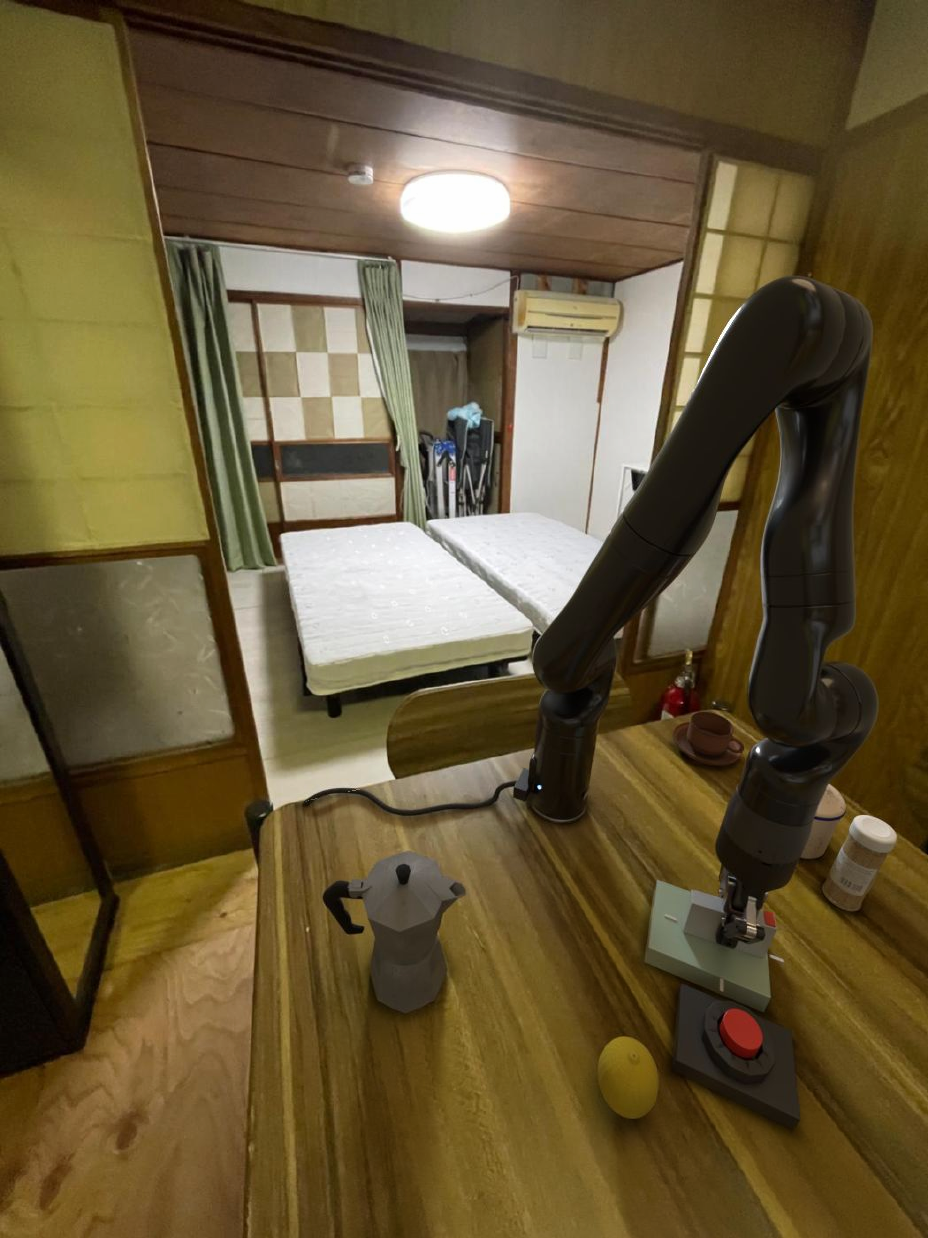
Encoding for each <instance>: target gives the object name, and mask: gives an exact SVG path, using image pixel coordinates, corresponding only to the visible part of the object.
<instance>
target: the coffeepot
mask: <svg viewBox="0 0 928 1238" xmlns="http://www.w3.org/2000/svg"><path fill="white" fill-rule="evenodd" d="M466 895H467V890H466V887H465V886H464V884H463V883H462V882H460V881H457V879H453V878H451V877H448V876H446V875H443V872H442V870H441V868H440V866H439V863H438V861H437V860H436V859H435V860H434V859H432V858H430V857H427V856H424V855H421V854H419V853H416V852H413V851H411V850H405V851H404V852H399V853H396V854H394V855H391V856H387V857H384V858H382V859H378V860H377V861H376V862H375V864H374V865H373V867H372V869H371V870H370V871H369V873H368V875H367V876H366V878H351V880H350V881H347V880H341V879H339V880H336V881H334V882H333V883H332V884H330V886H328V887H327V888H326V889H325V890H324V891H323V893H322V901H323V903H324V905H325V907H326V908H327V909H328V910H329V912H330V913H331V915H332V916H333V917H334V919H335V920H336V922H337V923H338V925H339V926H340V928H341V929H342V930H343V931H344V933H345V934H346V935H349V936H350V935H360V934H363V933H364V931H365V926H364V925H359V924H355V923H353V921H352V916H351V914H350V913H349V911H348V910H346V907H345V905H344V902H343V900H342V899H349V900H350V899H351V900H362V902H363V905H364V906H363V907H364V909H365V914H366V917H367V920H368V922H369V925H370V928H371V931H372V933H373V936H374V942H373V947H372V953H371V959H370V965H369V972H370V976H371V981H372V984H373V989H374V993H375V997H376V1000H377V1001H378V1002H379V1003H382V1004H384V1005H385V1006H387V1007H389V1008H390V1009H392V1010H394V1011H398V1012H400V1013H402V1014H405V1015H406V1014H409V1013H410V1012H413V1011H416V1010H420V1009H421V1008H424V1007H425V1006H427V1005H429V1004H430V1003H432V1002H434V1001H436V999H437V997H438V994H439V992H440V990H441V988H442V986H443V982H444V980H445V978H446V974H447V973H448V966H447V962H446V959H445V955H444V952H443V948H442V944H441V940H440V937H439V930H440V928H441V925H442V919H443V916H444V913H445V912H446V911H447V910H449V908H450V907H451V906H452V905H453V904H454V903H455V902H456V901H457V900H459V899H460V898H463V897H465V896H466Z"/></svg>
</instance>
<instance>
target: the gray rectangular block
mask: <svg viewBox="0 0 928 1238" xmlns="http://www.w3.org/2000/svg"><path fill="white" fill-rule="evenodd" d="M722 899H723V898H720V897H719V896H716V895H713V894H709V893H706V892H703V891H700V890H697V889H691V890H690V895H689V898H688V902H687V905H686V908H685V911H684V914H683V917H682V925H683V932H684V933H687V934H690V935H693V936H696V937H699V938H702V939H705V940H708V941H712V942H715V943H717V942H716V937H715V935H716V932H717V929H718V927H719V924H720V921H721V917H722V915H723V912H724V911H723V905H722ZM732 917H735V915H732ZM736 917H738V916H736ZM740 918H741V917H740ZM756 923H759V924H760V925H761V927H763V928H764V930H765V937H764V940H763V941H760V942H757V943H753V944H750V945H748V944H745V943H744V942H741V941H738V944H737V946H736V948H734V949H736V950H739V951H742V952H745V953H749V954H752V955H755V956H758V957H761V958H765V955H766V953H768V951H769V949H770V947H771V945H772V942H773V940H774V938H775V936H776V933H777V931H778V925H777V921H776V915H775V913H774V912H771V911H768V910H764V909H763V910H762V909H760V911H759V914H758V917H757V920H756Z"/></svg>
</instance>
